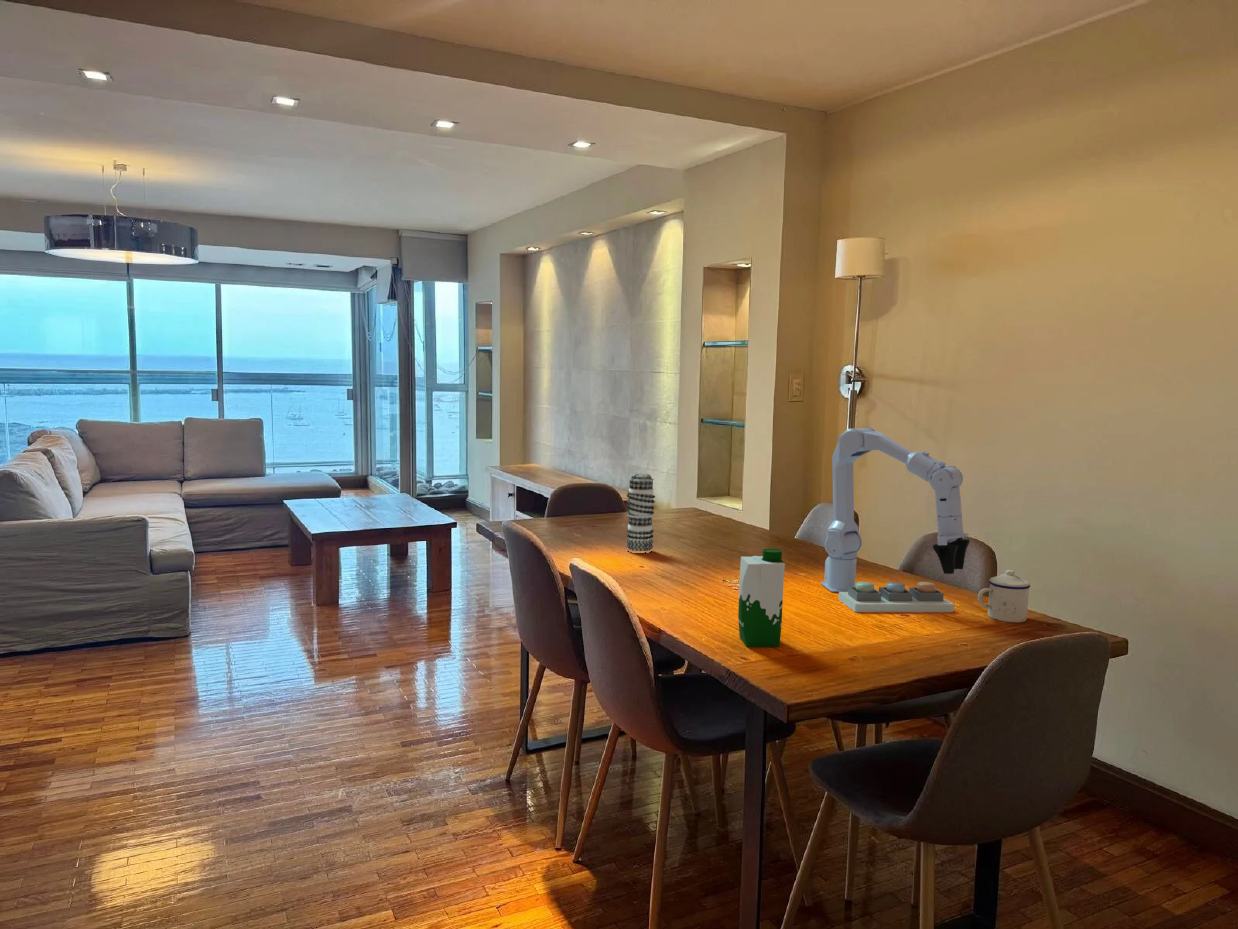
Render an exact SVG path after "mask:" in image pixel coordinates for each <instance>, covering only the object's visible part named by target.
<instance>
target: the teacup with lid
mask: <svg viewBox="0 0 1238 929" xmlns="http://www.w3.org/2000/svg"><path fill="white" fill-rule="evenodd" d="M988 583H989V587H984V588H982V589H981V590H979V591H978V594H977V600H978V603H979V605H980V606H981V607H982V608H985V609H987V616H988V617H989V618H991V619H992V620H995V619H997V620H996V621H1000V622H1005V623H1015V624H1016V623H1025V622H1026V621H1027V618H1028V607H1029V605H1028V604H1029V593H1030V592H1029V590H1030V588H1031V585H1030V582H1029V581H1028V580H1025V579H1023V578H1022V577H1020V576H1019V575H1017V574H1015V571H1014V570H1012V569H1007V570H1005V573H1002V574H999V575H998V576H992V577H990V578H989V581H988ZM985 593H988V603H987V604H985V602H983V595H984V594H985Z"/></svg>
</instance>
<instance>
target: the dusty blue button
mask: <svg viewBox="0 0 1238 929" xmlns="http://www.w3.org/2000/svg"><path fill="white" fill-rule="evenodd" d="M886 587H887V588H886V591H888V592H889V593H905V589H906V584H905V583H904V582H898V581H887V582H886Z"/></svg>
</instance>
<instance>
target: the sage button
mask: <svg viewBox="0 0 1238 929" xmlns="http://www.w3.org/2000/svg"><path fill="white" fill-rule="evenodd" d="M855 587H856V591H857V592H858V593H874V589H875V584H874V583H873V582H868V581H857V582H855Z"/></svg>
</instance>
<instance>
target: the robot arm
mask: <svg viewBox="0 0 1238 929" xmlns="http://www.w3.org/2000/svg"><path fill="white" fill-rule="evenodd" d="M837 439H838V441H837V445H836V447H835V449H834V452H833V454H832V459H831V460H832V464H831V465H832V466H831V467H832V523H831V524H830V525H829V527H828V528H827V536H826V538H825V540H824V549H825V552H826V553H827V554H828V557H826V559H825V562H824V578H823V579H824V581H821V582H820V584H821V585H822V586H824V587H825V588H826V589H827V590H828V591H830V592H831V593H833V592H834V593H839V592H848V587H856V576H857V556H858V552H859V551H860V550H861V548H862V545H863V539H862V537H861V535H860V531H859V526H858V524H857V523H856V522H855V500H854V499H855V498H854V497H855V496H854V493H855V492H854V490H855V489H854V463H855V462H856V461H857V460H859V459H860V458H861V457H862V456H863V455H865V454H867V453H869V452H872V451H880V452H881V453H883V454H886V455H887V456H889V457H892V458H893V459H895V460H897V461H899V462H902V463H904V464H905V466H906V469H907V471H908V472H909V473H912V474H913V475H915V476H916V477H919V478H921V479H922V480H923V481H925V482H928V483H929V484H930V486H931V488H932V489H933V490H934V494H935V507H936V508H935V509H936V522H937V523H936V524H937V537H936V539H937V543H935V544H932V549H933V551H934V552H935V554H936V556H937V558H938V559H939V562H940V566H941V568H942V571H943V574H945V575H949V574H950V575H952V574H954V573H955V570H963V569H964V566H965V559H966V552H967V550H968V546H969V544H970V539H965V538H967V537H969V536H970V535H969V533H968V532H965V531H964V527H963V526H964V525H963V513H962V511H963V510H962V499H961V489H960V486H961V485H962V484H963V480H964V476H963V473H962V472H961V470H960V469H959V468H957V467H956V466H954V465H946V463H947V462H945V461H939V460H938V459H935V458H934V457H932V456H930V452H928V451H927V450H926V451H920V450H918V451H915V452H912V450H909V449H908V448H906V447H904V446H903V445H902V444H900V443H898V442H896V441H895V440H894V439H891V438H890V437H889V436H887V435H885V434H884V433H882V432H881V431H879V430H878V431H877V430H875V429H874V428H872V427H865V428H864V427H862V428H847V429H845V431H843V432H842V433H841V434H840V435H839V436H838V438H837Z"/></svg>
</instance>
